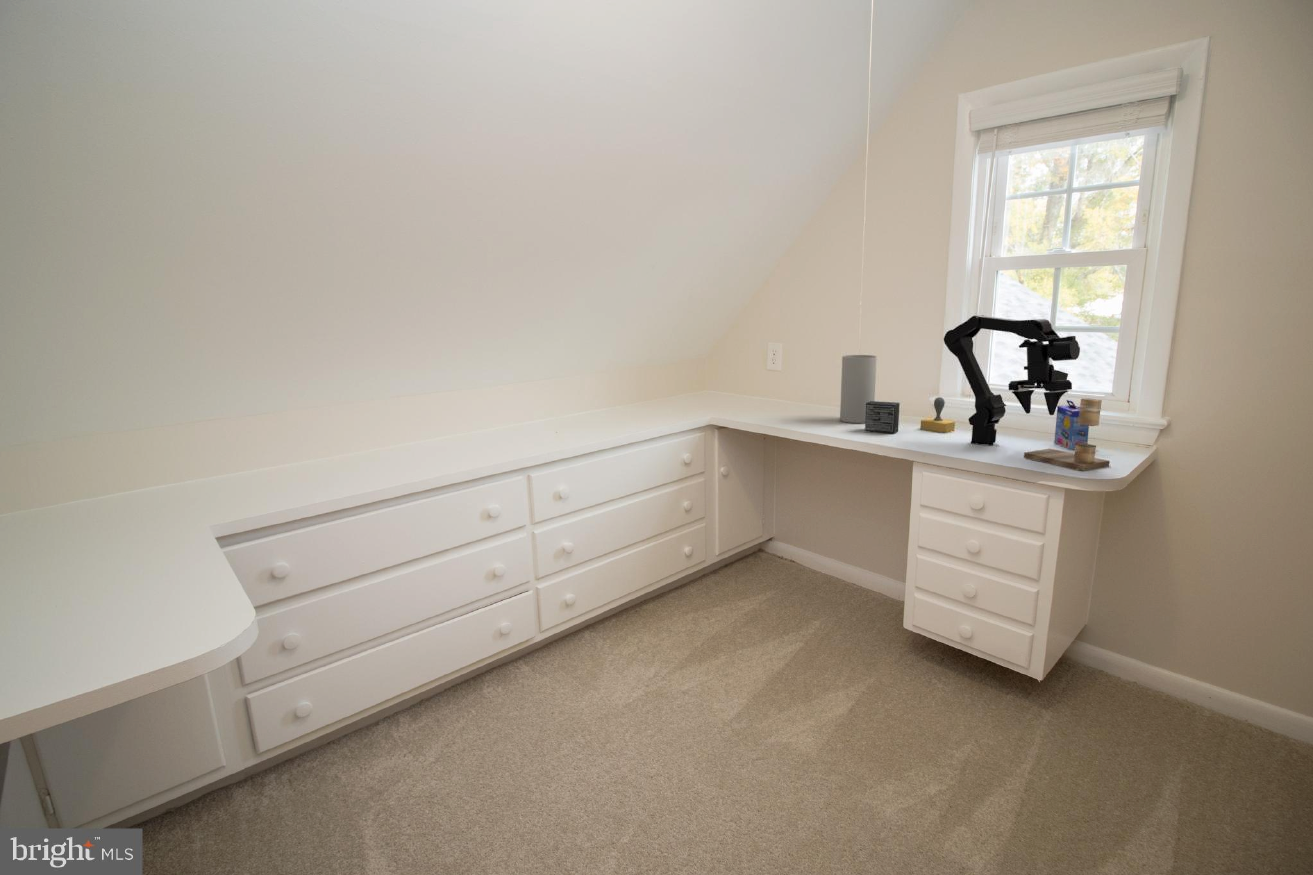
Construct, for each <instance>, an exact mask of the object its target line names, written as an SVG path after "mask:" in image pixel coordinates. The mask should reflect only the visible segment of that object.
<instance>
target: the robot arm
mask: <svg viewBox="0 0 1313 875" xmlns="http://www.w3.org/2000/svg"><path fill="white" fill-rule="evenodd" d="M982 329H983V330H988V331H989V330H990V331H995V332H998V331H999V332H1004V333H1005V332H1006V333H1011V334H1014V335H1017V336H1018V337H1020V338H1021V337H1022V338H1023V339H1024V340H1023V342H1022V343H1020V344H1019V345H1018V348H1020V349H1021V348H1022V349H1024V348H1026V366H1023V371H1024V370H1025V371H1027V372H1026V373H1027V374H1026V377H1027V379H1020V380H1011V381H1010V382H1009V383H1008V391H1011V394H1013V395H1014V396H1015V398H1016V399H1017V401H1018V402H1019V404H1020V405H1021V407H1022V409H1023V410H1024V413H1025V414H1031V408H1032V407H1031V405H1032V395H1033V393H1034V392H1035V390H1036V389H1044V392H1043V395H1044V400H1045V403H1046V408H1047V411H1048V414H1049V415H1050V416H1053V415H1055V412H1056V411H1057V406H1059V405H1058V404H1059V402H1060V399H1061V398H1062V396H1063V395H1065V394H1066V393H1067V394H1068V392H1069V390H1072V389H1073V382H1072V381H1071V380H1070V379H1068V376H1069V373H1067V372H1064V371H1061V370H1056V369H1055V366H1054V364H1051V363H1050V359H1051V360H1052V361H1054V362H1058V361H1061V362H1062V361H1076V360H1078V358H1079V357H1080V353H1081V347H1080V344H1079V342H1078V341H1077V339H1076V338H1077V337H1076V335H1068V336H1065V337H1063V336H1062V337H1060V335H1058V333H1057V332H1056V331H1055V330H1054V329H1053V326H1052V324H1051V322H1050V320H1048V319H1046V318H1040V319H1039V318H1038V319H1021V320H1020V319H1010V318H1003V317H996V316H995V317H994V316H986V315H973V316H971V317H969V318H968V319H967V320H966V321H964V322H963V323H961V324H958V325H957V326H955V327H954V328H953V329H949V330H947V332H945V334H944V336H943V343H944V344H945V346H946V347H947V349H948V351H949V352H950V353H952V354H953V355H954V356H955V357H956V358H957V359H958V362H959V364H960V367H961V369H962V371H963V372H964V375H965V378H966V379H967V382H968V384H969V386H970V388H971V391H972V393H973V395H974V399H975V400H974V408H975V413H973V414H972V415H971V416H970V417H969V418H968V423H969V425H970V426H972V427H971V430H972V431H971V439H970V444H972V445H982V446H994V444H996V442H997V432H998V430H997V428H996V425H997V424H999V423H1000V421H1001V419H1002V418H1003V417H1004V416H1005V413H1006V406H1007V405H1006V403H1005V402H1004V401H1003V397H1002V395H1001V394H994V393H993V392H992V391H991V389H990V386H989V384H988V382H987V380H986V377H985V375H984V374H983V372H982V369H981V366H980V364H979V363H978V360H977V358H976V356H975V354H974V340H973V338H974V337H976V336H977V335H978V334H979V333H980V331H981V330H982ZM1032 340H1034V341H1032ZM1045 342H1048V343H1045Z"/></svg>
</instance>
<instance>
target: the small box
mask: <svg viewBox="0 0 1313 875" xmlns="http://www.w3.org/2000/svg"><path fill="white" fill-rule="evenodd" d="M899 418H900V402H894V401H891V402H890V401H870V402H867V403H866V418H865V423H864V424H865V425H864V432H865V431H870V432H869V433H878V434H890V433H891V434H893V435H894V434H896V433H898V432H899V425H900V424H899V422H900V420H899Z"/></svg>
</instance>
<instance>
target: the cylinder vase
mask: <svg viewBox="0 0 1313 875" xmlns="http://www.w3.org/2000/svg"><path fill="white" fill-rule="evenodd" d="M877 360H878V358H877V356H876V355H870V354H869V355H868V354H850V355H849V354H848V355H842V357H841V380H840V382H841V383H840V385H841V386H840V409H839V410H840V412H839V419H840V421H842V422H843V423H847V424H857V425H858V424H865V418H866V403H867V402H870V401H875V400H876V399H875V396H876V382H877V381H876V377H877V376H876V375H877Z"/></svg>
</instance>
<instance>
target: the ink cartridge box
mask: <svg viewBox="0 0 1313 875" xmlns="http://www.w3.org/2000/svg"><path fill="white" fill-rule="evenodd" d="M1066 403H1067V404H1068V405H1057V407H1056V420H1055V429H1054V430H1055V431H1054V444H1056V445H1059V446H1061V447H1064V448H1066V449H1067V450H1075V446H1076V445H1075V444H1077V443H1085V444H1089V443H1088V442H1089V433H1090V432H1089V431H1090V426H1088V425H1082V424H1078V420H1079V411H1080V406H1077V405H1075V403H1074V402H1073V401H1072V400H1068V399H1066Z"/></svg>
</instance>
